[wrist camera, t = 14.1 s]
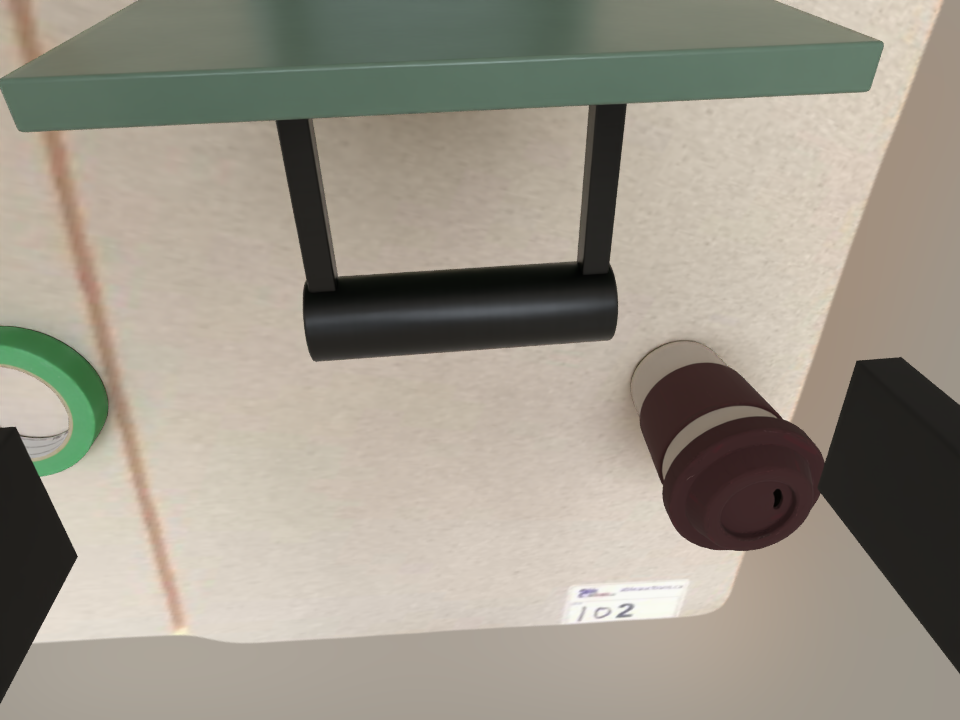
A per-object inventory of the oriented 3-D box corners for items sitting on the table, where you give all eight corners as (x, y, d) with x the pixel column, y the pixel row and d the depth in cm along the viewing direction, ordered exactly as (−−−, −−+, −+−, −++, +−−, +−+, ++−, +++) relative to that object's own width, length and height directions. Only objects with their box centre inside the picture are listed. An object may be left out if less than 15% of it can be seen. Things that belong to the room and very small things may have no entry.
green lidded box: (-7, 79, 11) (146, 439, 16) (887, 41, 12) (777, 389, 17) (231, -54, 27) (271, 144, 32) (606, -66, 29) (590, 128, 33)
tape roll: (-17, 294, 45) (-39, 313, 42) (138, 387, 49) (125, 408, 47) (-91, 400, 48) (-116, 422, 46) (60, 477, 53) (45, 501, 50)
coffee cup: (591, 412, 55) (649, 554, 42) (649, 307, 50) (734, 429, 37) (695, 440, 57) (781, 582, 44) (759, 342, 53) (874, 468, 40)
